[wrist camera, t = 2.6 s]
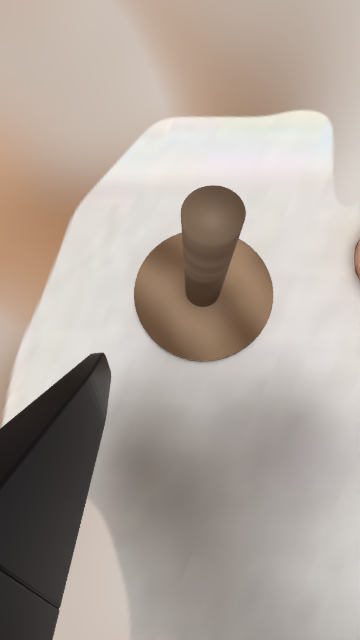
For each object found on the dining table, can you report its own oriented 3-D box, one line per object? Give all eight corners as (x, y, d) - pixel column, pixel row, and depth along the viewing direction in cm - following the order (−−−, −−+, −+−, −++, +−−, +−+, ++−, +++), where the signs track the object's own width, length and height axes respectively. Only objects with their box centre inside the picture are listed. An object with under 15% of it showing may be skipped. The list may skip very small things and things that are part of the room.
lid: (213, 391, 20) (240, 403, 9) (110, 304, 22) (34, 231, 11) (295, 285, 22) (397, 193, 11) (192, 215, 24) (194, 81, 13)
